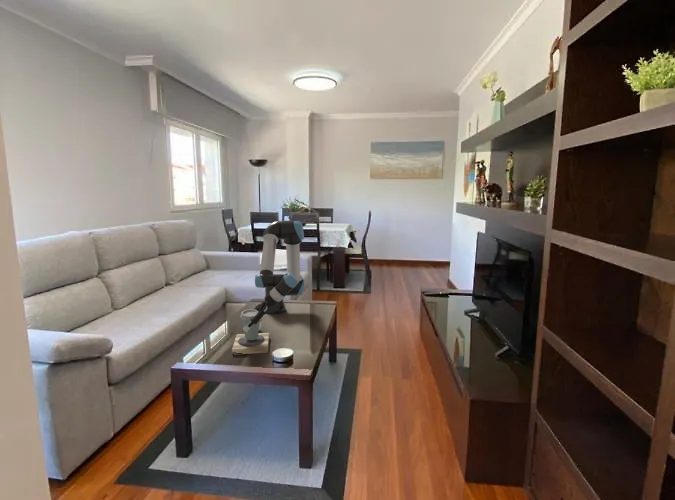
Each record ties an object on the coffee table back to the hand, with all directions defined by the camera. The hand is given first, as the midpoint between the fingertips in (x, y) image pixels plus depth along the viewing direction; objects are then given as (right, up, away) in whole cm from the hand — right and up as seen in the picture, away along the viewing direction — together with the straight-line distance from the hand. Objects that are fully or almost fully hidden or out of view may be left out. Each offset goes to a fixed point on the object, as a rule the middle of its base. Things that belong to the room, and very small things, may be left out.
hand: (245, 326), depth 193 cm
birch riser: (+3, -11, +3) cm, 12 cm away
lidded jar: (-1, -8, +21) cm, 22 cm away
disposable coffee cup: (+3, -7, +2) cm, 8 cm away
